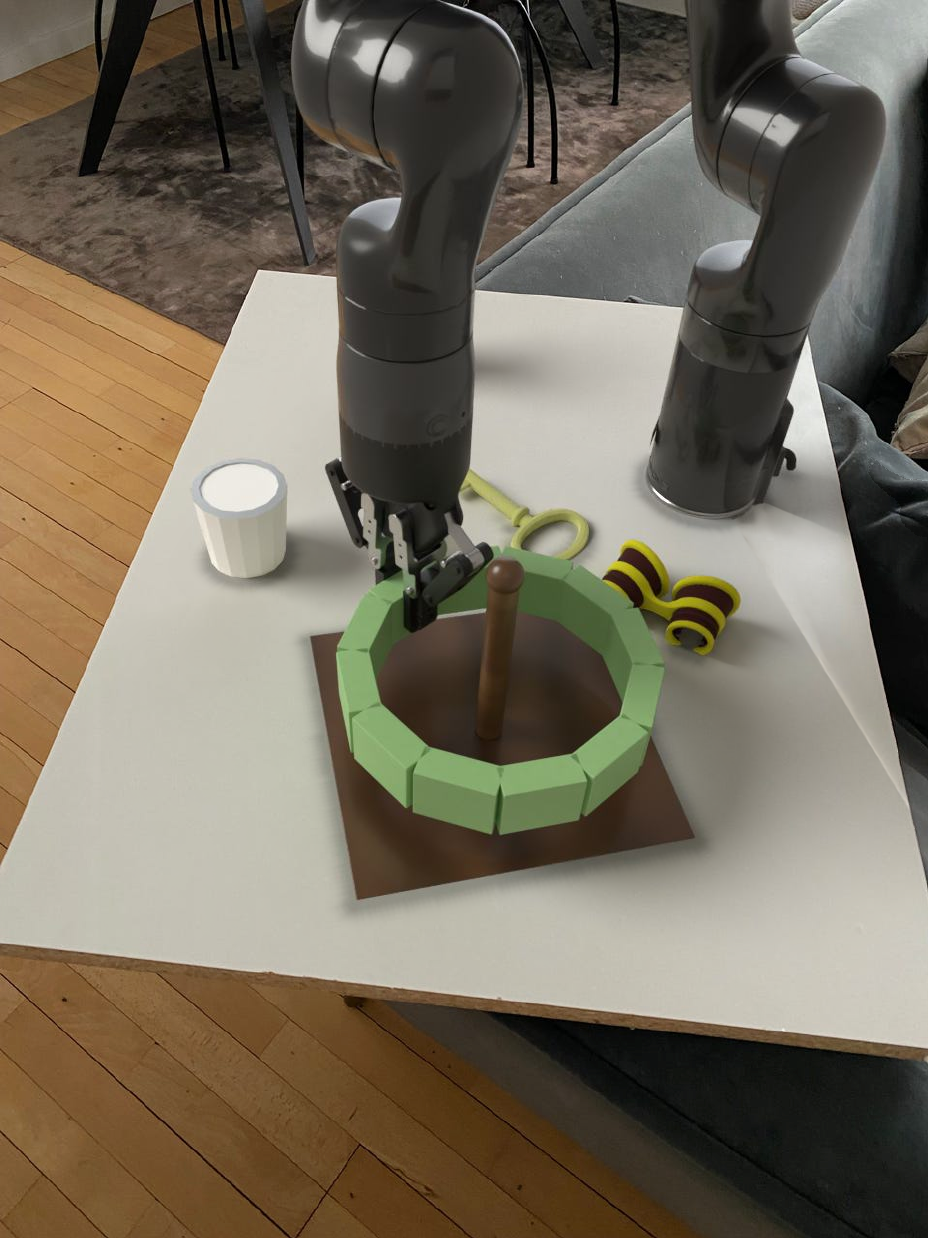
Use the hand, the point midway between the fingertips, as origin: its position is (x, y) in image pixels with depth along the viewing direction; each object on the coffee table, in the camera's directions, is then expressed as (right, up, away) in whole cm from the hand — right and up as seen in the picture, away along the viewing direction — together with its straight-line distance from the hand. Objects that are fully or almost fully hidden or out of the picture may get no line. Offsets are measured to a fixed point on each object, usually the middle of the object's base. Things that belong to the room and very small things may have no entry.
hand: (405, 613), depth 70 cm
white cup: (-13, +4, +10) cm, 17 cm away
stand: (+6, -8, -1) cm, 10 cm away
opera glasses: (+18, 0, +7) cm, 20 cm away
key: (+8, +7, +14) cm, 18 cm away
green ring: (+6, -5, -4) cm, 9 cm away
